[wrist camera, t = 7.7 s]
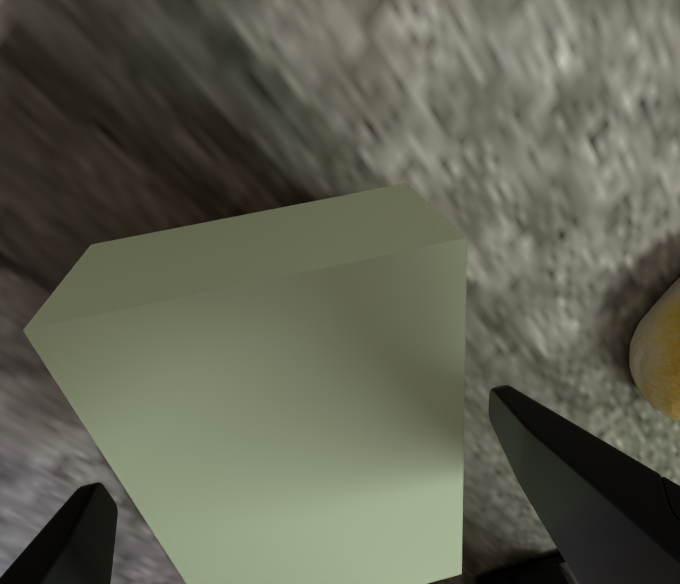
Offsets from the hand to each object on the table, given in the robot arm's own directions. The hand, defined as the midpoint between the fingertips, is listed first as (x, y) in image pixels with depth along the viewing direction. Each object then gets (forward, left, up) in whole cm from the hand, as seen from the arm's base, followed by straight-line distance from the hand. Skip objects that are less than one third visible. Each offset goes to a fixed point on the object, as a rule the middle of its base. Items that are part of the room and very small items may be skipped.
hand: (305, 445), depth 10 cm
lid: (0, 0, -2) cm, 2 cm away
